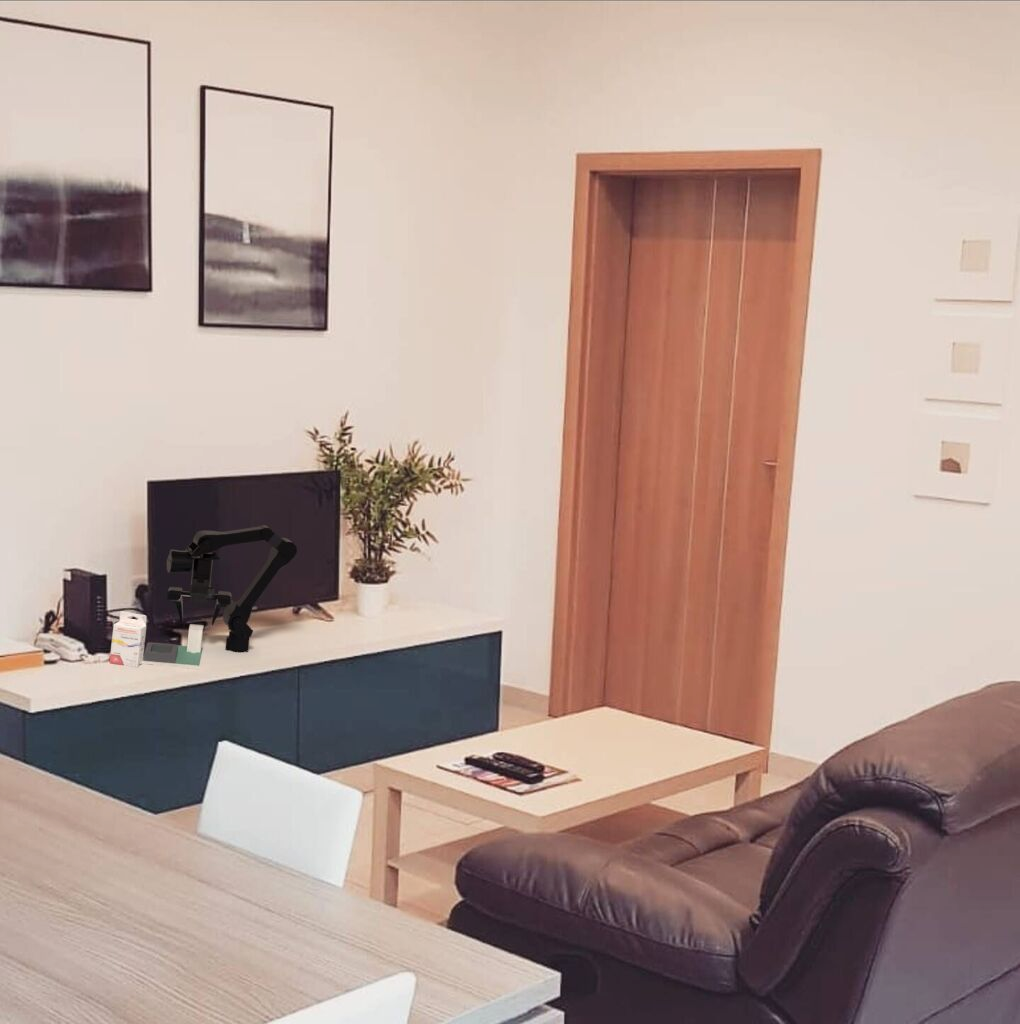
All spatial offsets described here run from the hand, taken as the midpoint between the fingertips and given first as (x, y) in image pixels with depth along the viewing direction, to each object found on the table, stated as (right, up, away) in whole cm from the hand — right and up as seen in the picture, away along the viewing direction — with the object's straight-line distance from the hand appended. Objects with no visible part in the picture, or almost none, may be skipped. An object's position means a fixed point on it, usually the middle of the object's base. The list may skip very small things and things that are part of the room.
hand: (197, 623), depth 463 cm
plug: (-1, -8, +1) cm, 8 cm away
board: (-6, -10, -6) cm, 13 cm away
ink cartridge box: (-17, -10, -19) cm, 27 cm away
